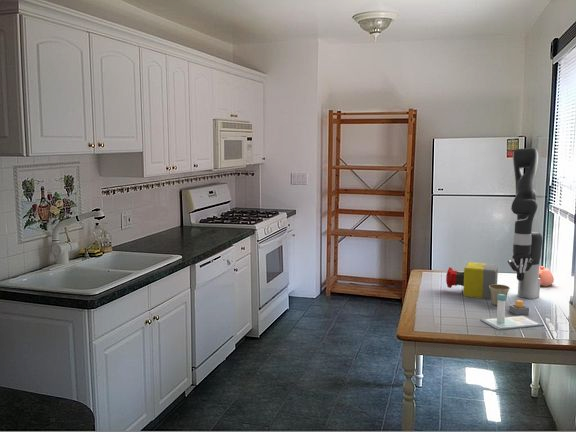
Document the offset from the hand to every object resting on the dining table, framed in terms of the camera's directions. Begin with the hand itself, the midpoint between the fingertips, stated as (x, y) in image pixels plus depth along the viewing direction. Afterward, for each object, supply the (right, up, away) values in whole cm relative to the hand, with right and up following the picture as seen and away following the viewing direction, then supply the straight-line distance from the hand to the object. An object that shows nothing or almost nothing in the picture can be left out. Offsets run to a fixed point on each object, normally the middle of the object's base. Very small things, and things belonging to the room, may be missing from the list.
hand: (520, 280), depth 250 cm
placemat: (-9, -17, -12) cm, 23 cm away
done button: (0, -14, +2) cm, 14 cm away
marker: (-14, -17, -12) cm, 25 cm away
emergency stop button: (-11, -11, +34) cm, 37 cm away
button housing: (0, -15, +2) cm, 15 cm away
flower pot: (-4, -14, +15) cm, 21 cm away
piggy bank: (+32, -9, +49) cm, 59 cm away
